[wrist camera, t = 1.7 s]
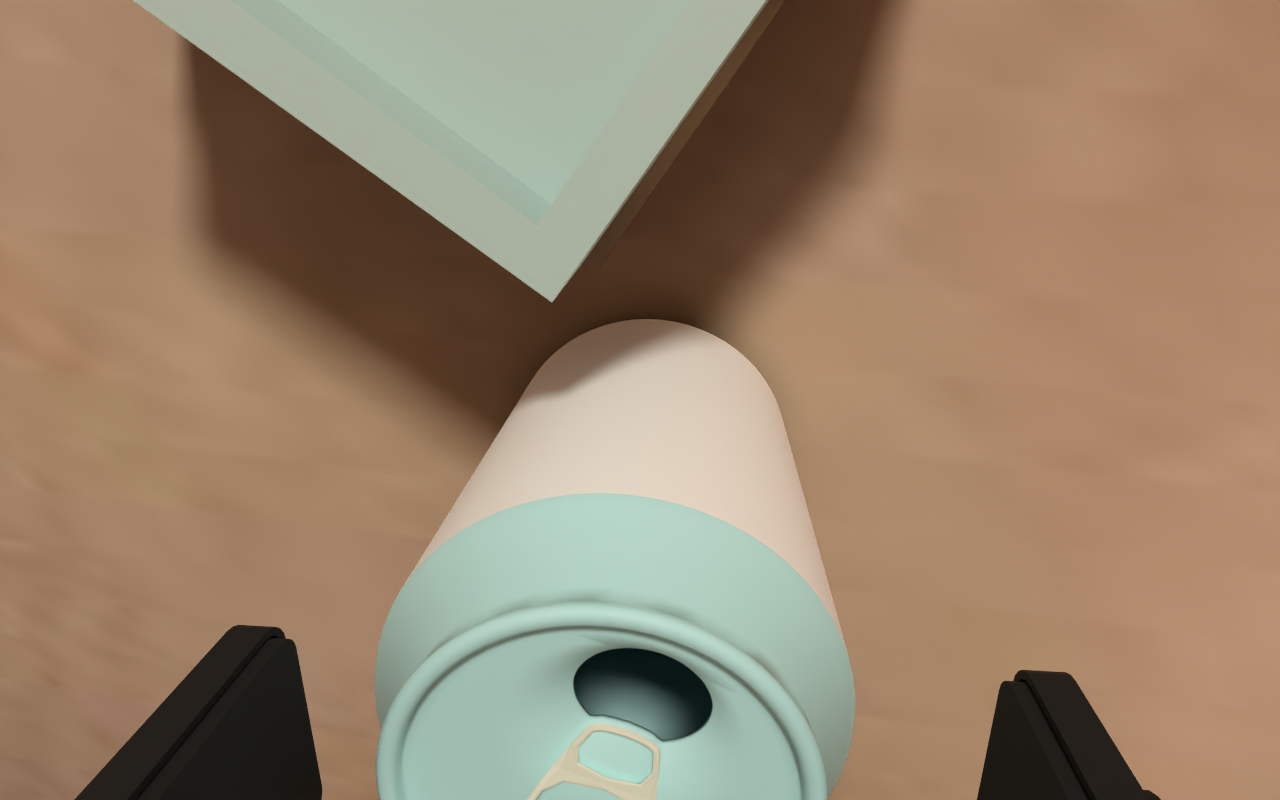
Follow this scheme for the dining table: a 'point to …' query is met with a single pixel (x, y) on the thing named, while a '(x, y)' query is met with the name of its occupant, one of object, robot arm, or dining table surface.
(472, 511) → the can
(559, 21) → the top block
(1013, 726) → the robot arm
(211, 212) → the dining table surface
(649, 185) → the bottom block
